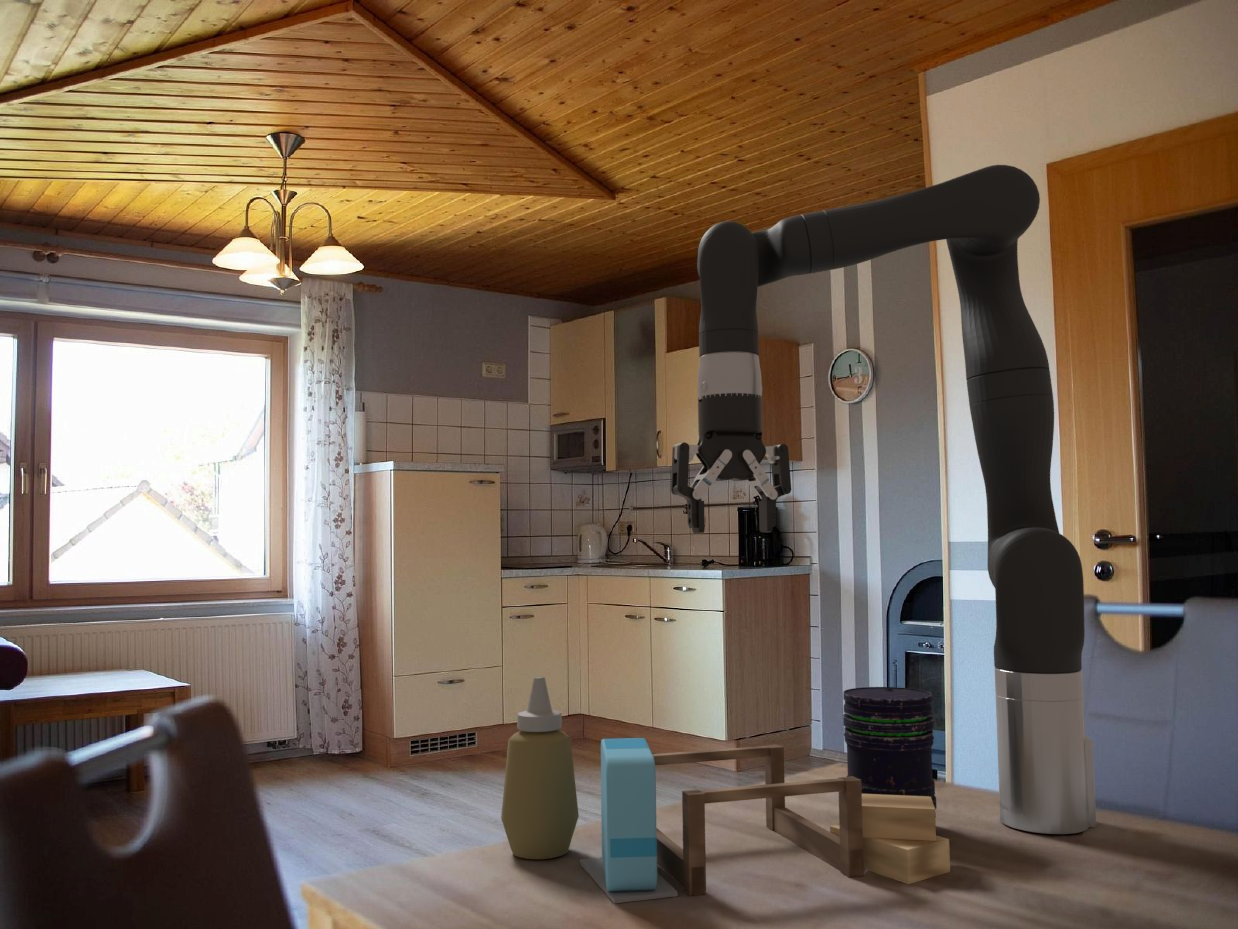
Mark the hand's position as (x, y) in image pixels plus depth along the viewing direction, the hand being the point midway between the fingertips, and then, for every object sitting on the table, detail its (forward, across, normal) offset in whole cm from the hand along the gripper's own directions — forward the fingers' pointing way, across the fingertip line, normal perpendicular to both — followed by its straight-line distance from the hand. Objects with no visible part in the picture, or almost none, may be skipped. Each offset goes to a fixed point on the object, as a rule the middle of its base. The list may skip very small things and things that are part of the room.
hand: (732, 532), depth 121 cm
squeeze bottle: (+33, +24, +4) cm, 41 cm away
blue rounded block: (+33, +18, +15) cm, 40 cm away
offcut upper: (+30, -8, +19) cm, 36 cm away
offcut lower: (+34, -8, +19) cm, 39 cm away
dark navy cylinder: (+33, -15, +8) cm, 37 cm away
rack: (+33, +5, +12) cm, 36 cm away
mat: (+33, +18, +15) cm, 41 cm away
